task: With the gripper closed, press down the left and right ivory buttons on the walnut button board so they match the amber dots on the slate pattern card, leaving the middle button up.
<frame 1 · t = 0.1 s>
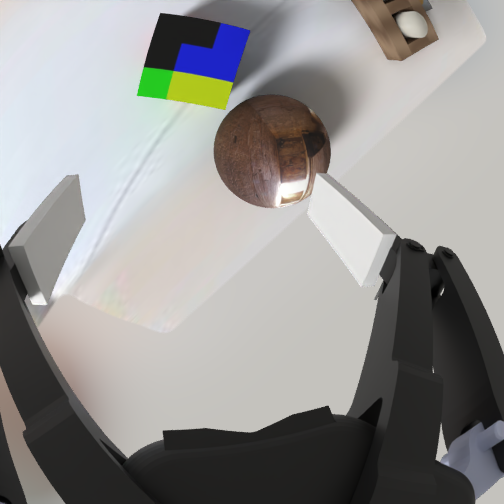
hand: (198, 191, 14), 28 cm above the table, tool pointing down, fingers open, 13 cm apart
wooden sphere: (257, 137, 41), on the table
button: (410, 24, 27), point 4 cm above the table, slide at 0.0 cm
puzzle toy: (190, 64, 32), on the table
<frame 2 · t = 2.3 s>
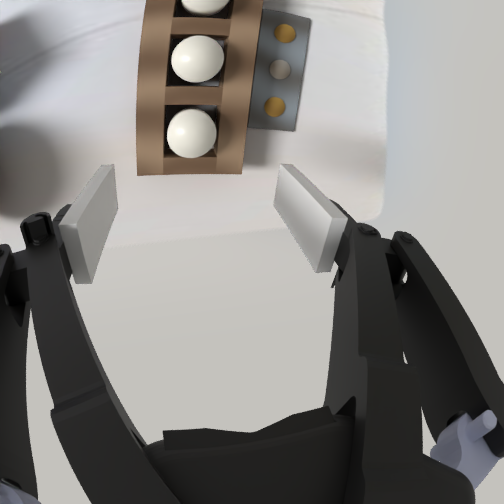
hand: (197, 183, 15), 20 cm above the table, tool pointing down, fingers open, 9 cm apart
button board: (195, 62, 26), on the table
middle button: (197, 59, 23), point 4 cm above the table, slide at 0.0 cm
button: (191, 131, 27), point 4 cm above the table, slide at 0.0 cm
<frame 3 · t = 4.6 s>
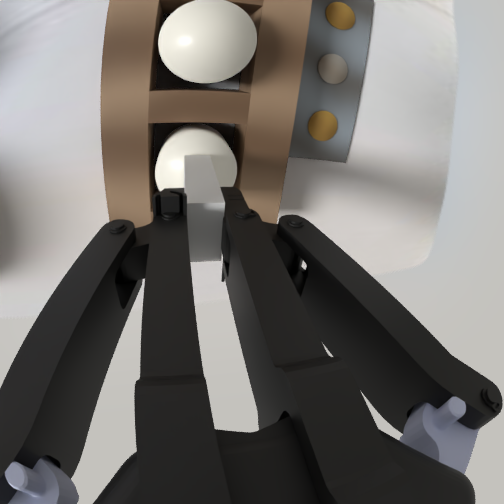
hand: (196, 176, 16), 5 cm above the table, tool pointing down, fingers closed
button board: (201, 49, 15), on the table
middle button: (205, 42, 12), point 4 cm above the table, slide at 0.0 cm
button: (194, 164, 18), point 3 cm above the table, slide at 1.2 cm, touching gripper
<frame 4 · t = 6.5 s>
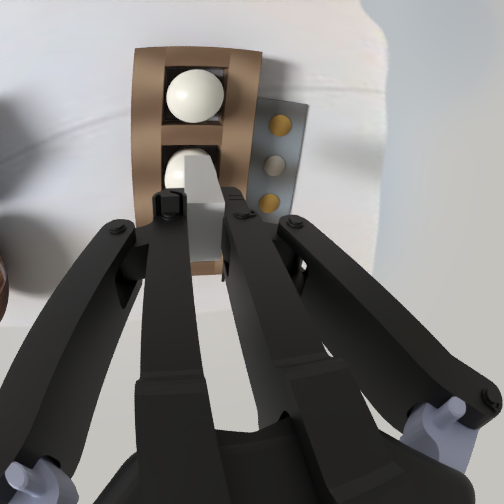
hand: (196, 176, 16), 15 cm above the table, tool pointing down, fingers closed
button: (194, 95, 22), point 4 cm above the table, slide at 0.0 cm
button board: (189, 162, 30), on the table
middle button: (190, 174, 27), point 4 cm above the table, slide at 0.0 cm
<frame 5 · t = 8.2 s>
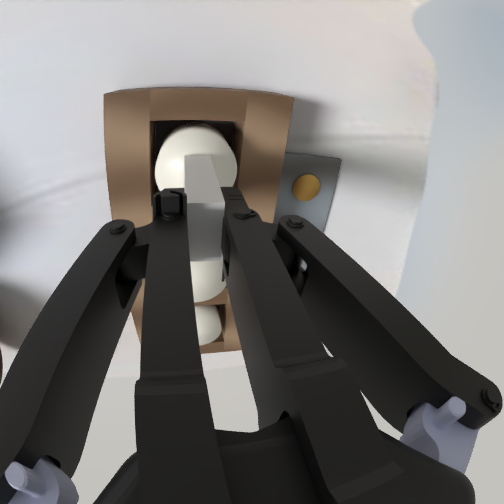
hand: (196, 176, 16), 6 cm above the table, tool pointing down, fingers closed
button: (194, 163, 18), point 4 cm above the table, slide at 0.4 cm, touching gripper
button board: (191, 235, 25), on the table
middle button: (193, 264, 22), point 4 cm above the table, slide at 0.0 cm
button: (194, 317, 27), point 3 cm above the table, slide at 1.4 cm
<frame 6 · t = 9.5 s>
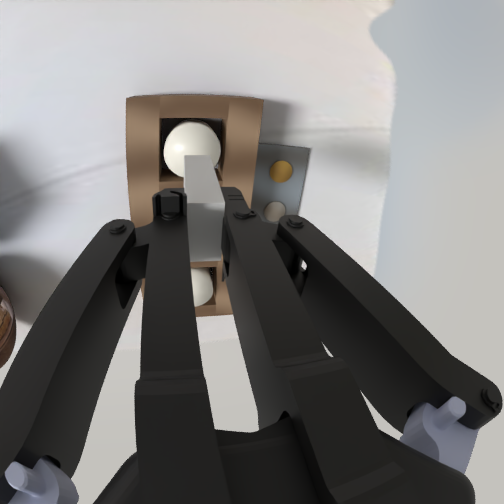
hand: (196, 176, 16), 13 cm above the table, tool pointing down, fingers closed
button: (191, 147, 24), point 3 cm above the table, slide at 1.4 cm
button board: (189, 210, 31), on the table
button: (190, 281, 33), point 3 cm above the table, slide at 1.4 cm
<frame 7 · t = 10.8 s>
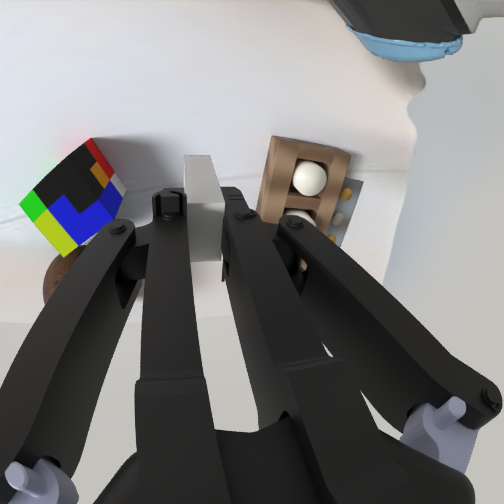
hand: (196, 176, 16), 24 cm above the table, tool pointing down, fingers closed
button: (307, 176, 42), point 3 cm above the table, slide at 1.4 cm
button board: (288, 213, 48), on the table
middle button: (297, 226, 45), point 4 cm above the table, slide at 0.0 cm
wooden sphere: (94, 263, 45), on the table
puzzle toy: (85, 181, 36), on the table
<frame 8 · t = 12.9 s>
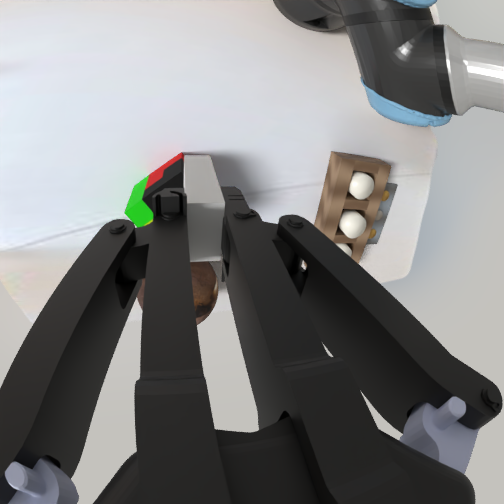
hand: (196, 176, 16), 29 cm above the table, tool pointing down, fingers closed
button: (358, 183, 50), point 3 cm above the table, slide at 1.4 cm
button board: (341, 213, 57), on the table
middle button: (351, 223, 54), point 4 cm above the table, slide at 0.0 cm
wooden sphere: (176, 262, 55), on the table
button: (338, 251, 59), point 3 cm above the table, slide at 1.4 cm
puzzle toy: (174, 190, 47), on the table
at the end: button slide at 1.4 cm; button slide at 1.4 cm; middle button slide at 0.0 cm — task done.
